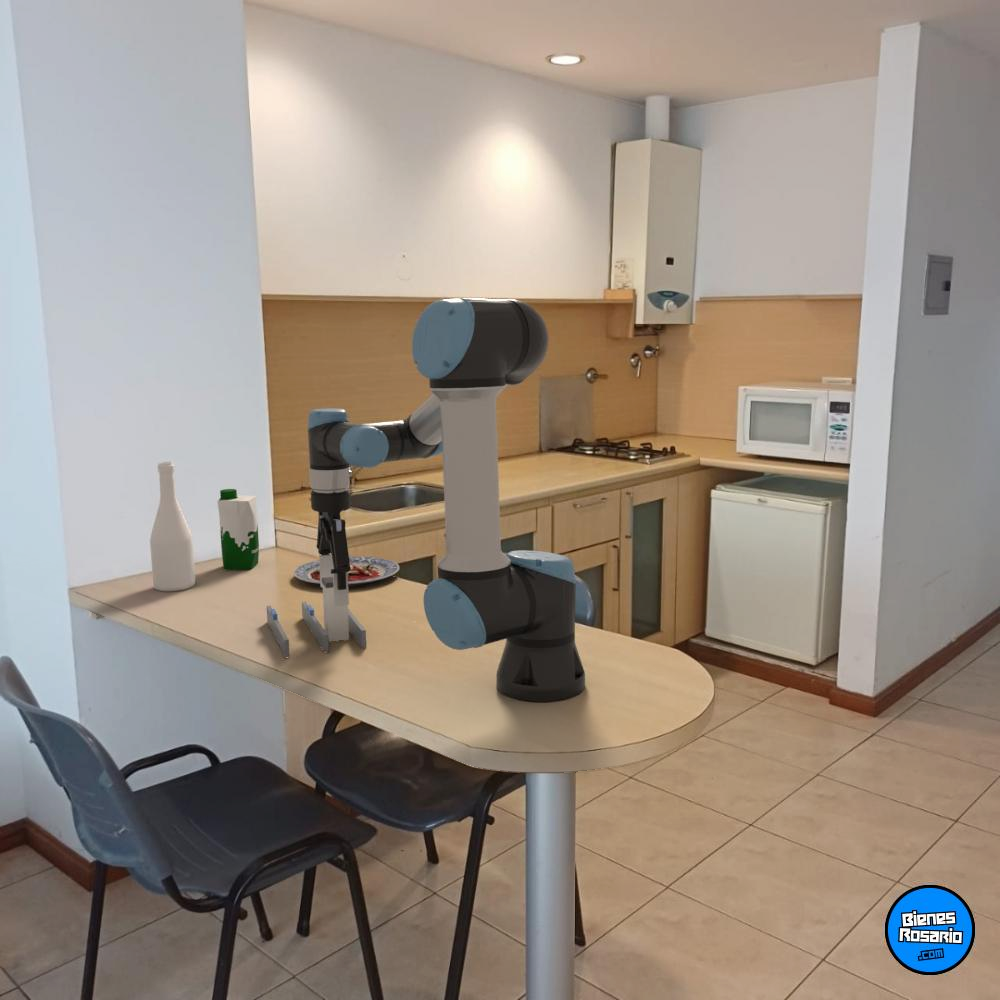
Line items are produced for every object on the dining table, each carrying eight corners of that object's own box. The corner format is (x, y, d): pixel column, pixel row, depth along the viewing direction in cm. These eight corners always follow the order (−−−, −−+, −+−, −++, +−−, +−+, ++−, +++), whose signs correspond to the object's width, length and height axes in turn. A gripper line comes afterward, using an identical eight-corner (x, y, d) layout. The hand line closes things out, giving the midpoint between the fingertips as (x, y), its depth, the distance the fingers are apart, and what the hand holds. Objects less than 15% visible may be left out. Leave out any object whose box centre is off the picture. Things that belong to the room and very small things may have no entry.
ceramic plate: (317, 598, 220) (317, 585, 220) (278, 574, 242) (277, 562, 241) (418, 581, 234) (417, 569, 234) (372, 560, 255) (371, 549, 255)
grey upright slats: (366, 647, 185) (365, 625, 185) (285, 658, 180) (284, 635, 179) (340, 613, 208) (339, 593, 207) (267, 622, 202) (266, 601, 201)
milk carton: (228, 562, 253) (224, 487, 250) (263, 562, 253) (258, 487, 250) (218, 571, 245) (213, 493, 241) (254, 570, 245) (249, 493, 241)
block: (349, 639, 190) (347, 580, 188) (328, 642, 189) (325, 583, 187) (345, 633, 194) (342, 575, 192) (324, 636, 193) (321, 578, 190)
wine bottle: (151, 585, 232) (141, 461, 227) (192, 579, 236) (183, 458, 231) (156, 594, 224) (146, 466, 218) (199, 589, 228) (190, 463, 223)
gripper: (364, 499, 176) (367, 611, 180) (336, 477, 199) (339, 577, 203) (323, 502, 173) (327, 615, 177) (299, 480, 196) (303, 580, 200)
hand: (334, 595), depth 190 cm, fingers open, 13 cm apart
